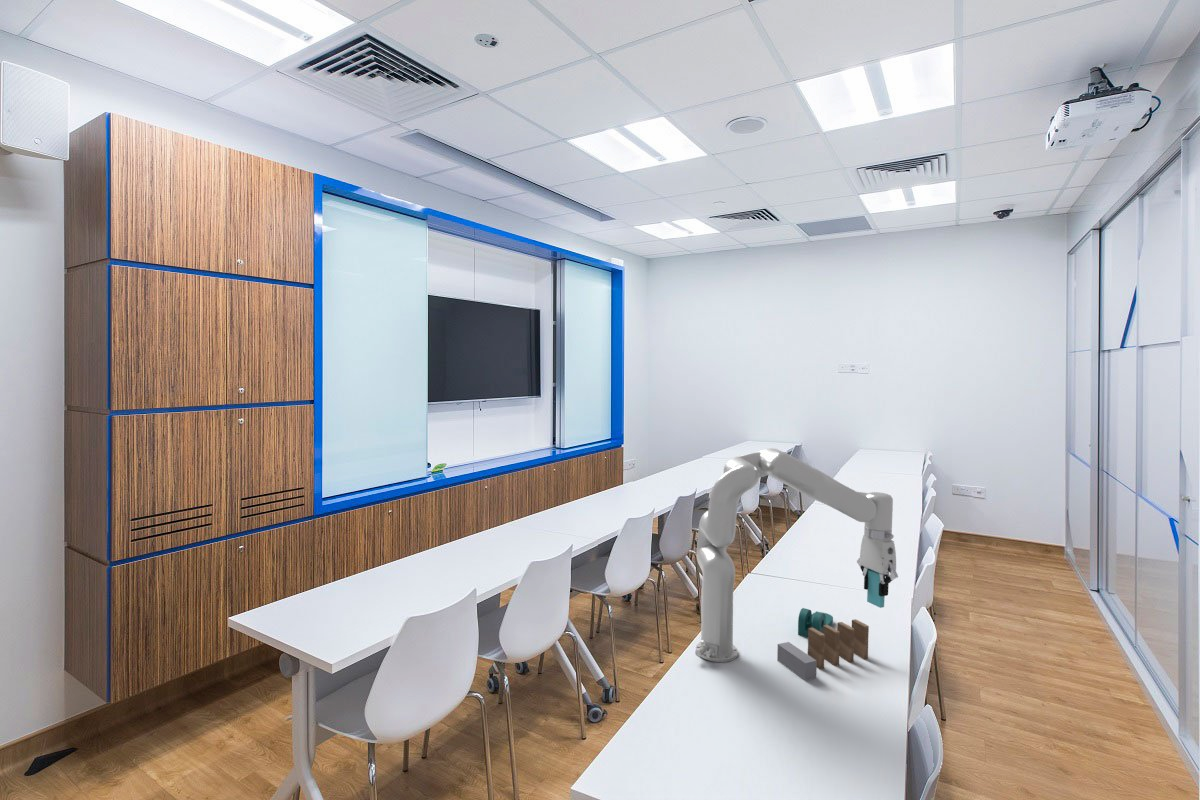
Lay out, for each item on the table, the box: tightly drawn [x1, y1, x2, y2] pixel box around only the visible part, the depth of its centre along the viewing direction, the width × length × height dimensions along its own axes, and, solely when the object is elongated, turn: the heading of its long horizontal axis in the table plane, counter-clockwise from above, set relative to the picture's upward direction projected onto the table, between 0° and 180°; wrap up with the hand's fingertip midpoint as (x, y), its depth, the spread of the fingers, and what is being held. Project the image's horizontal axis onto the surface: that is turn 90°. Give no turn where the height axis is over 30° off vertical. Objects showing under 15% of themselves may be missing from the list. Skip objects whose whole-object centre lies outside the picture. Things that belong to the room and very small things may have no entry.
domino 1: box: [807, 628, 825, 670], centre depth 169 cm, size 2×5×10 cm, turn 21°
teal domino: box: [866, 570, 886, 609], centre depth 176 cm, size 2×5×10 cm, turn 21°
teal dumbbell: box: [797, 607, 834, 638], centre depth 193 cm, size 18×7×8 cm, turn 142°
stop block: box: [776, 641, 818, 681], centre depth 167 cm, size 4×12×5 cm, turn 20°
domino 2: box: [823, 625, 840, 667], centre depth 171 cm, size 2×5×10 cm, turn 20°
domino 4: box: [851, 619, 870, 660], centre depth 175 cm, size 2×5×10 cm, turn 21°
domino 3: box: [836, 621, 855, 663], centre depth 173 cm, size 2×5×10 cm, turn 20°
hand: (875, 591), depth 176 cm, fingers closed on teal domino, 4 cm apart
